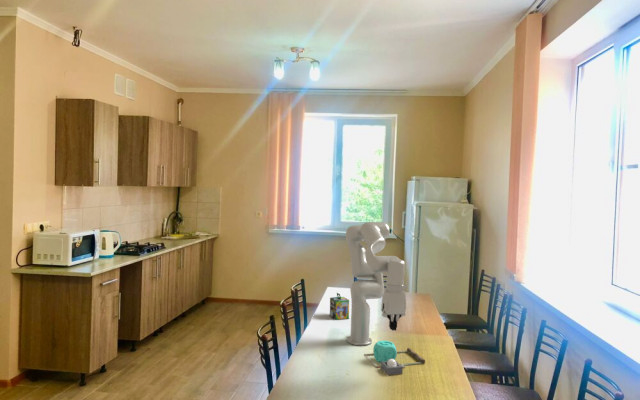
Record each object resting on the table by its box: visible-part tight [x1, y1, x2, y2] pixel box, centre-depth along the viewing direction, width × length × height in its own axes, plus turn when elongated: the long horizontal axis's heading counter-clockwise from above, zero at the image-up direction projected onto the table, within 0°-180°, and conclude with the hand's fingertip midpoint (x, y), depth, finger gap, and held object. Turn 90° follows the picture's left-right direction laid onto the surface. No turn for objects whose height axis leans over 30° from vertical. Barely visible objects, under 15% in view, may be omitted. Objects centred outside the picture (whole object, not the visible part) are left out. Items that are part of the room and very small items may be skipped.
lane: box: [363, 347, 426, 369], centre depth 207 cm, size 20×24×2 cm
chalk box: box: [329, 292, 350, 321], centre depth 269 cm, size 9×9×15 cm
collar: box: [380, 359, 404, 376], centre depth 194 cm, size 7×7×3 cm
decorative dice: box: [372, 340, 398, 364], centre depth 206 cm, size 8×8×8 cm
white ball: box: [387, 359, 397, 367], centre depth 194 cm, size 4×4×4 cm
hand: (392, 329), depth 194 cm, fingers closed
